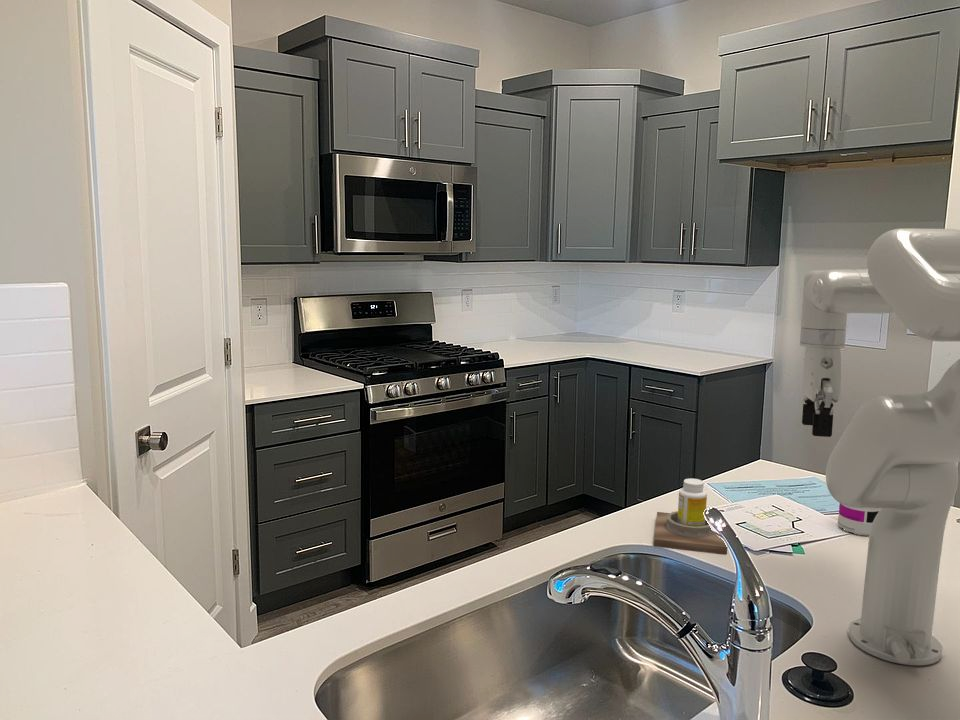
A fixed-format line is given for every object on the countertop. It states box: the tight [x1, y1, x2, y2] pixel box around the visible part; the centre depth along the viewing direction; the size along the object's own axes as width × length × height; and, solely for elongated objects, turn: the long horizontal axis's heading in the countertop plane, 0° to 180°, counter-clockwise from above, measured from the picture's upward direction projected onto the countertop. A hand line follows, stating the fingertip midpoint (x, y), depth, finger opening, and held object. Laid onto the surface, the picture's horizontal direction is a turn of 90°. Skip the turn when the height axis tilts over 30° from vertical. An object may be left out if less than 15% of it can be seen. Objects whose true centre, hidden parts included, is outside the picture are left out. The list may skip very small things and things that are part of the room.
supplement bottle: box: [677, 478, 708, 527], centre depth 157 cm, size 6×6×10 cm
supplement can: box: [837, 503, 881, 537], centre depth 162 cm, size 8×8×15 cm
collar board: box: [653, 510, 728, 555], centre depth 158 cm, size 16×14×4 cm
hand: (816, 430), depth 141 cm, fingers open, 9 cm apart
